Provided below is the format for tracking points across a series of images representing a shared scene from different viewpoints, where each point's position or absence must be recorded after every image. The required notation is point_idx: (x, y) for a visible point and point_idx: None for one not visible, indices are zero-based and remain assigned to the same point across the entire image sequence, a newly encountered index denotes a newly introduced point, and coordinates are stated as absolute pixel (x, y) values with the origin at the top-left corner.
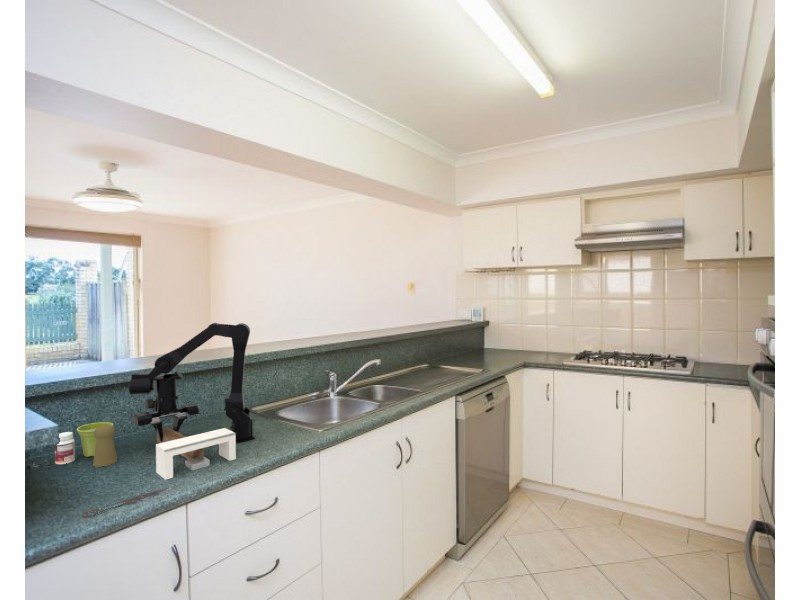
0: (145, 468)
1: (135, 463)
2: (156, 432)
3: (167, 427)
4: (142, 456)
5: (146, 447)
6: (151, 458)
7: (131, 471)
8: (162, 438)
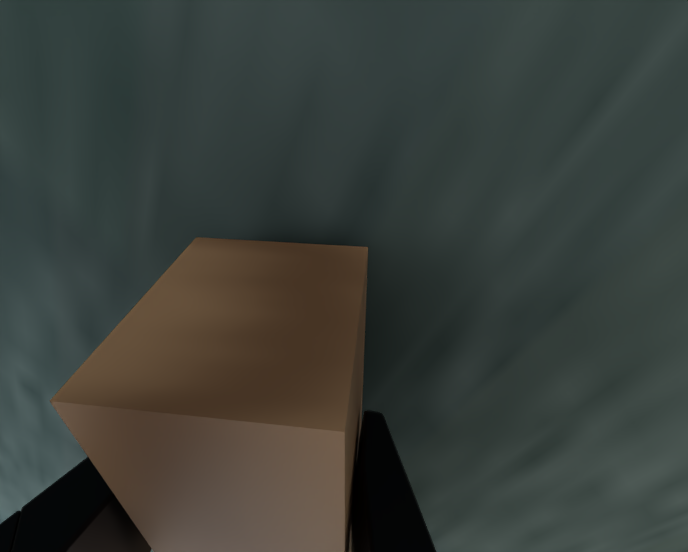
0: None
1: (8, 464)
2: (44, 505)
3: (328, 440)
4: (46, 404)
5: (78, 212)
6: None
7: (2, 519)
8: None
